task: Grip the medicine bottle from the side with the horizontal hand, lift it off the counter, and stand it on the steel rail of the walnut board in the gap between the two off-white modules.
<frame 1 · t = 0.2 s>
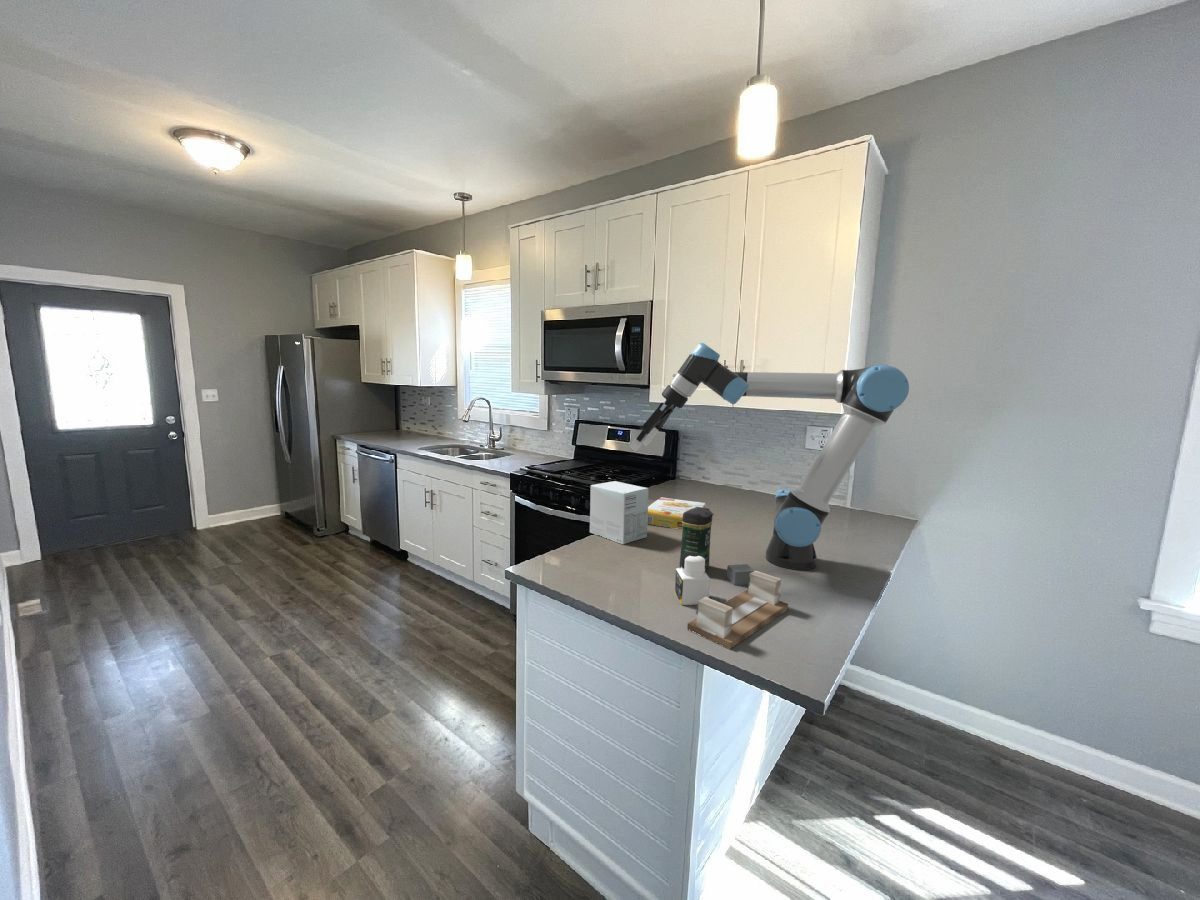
hand: (638, 446, 151), 35 cm above the counter, tool tilted 35°, fingers open, 13 cm apart
supplement box: (618, 535, 175), on the counter
coffee jar: (694, 569, 145), on the counter
rail board: (739, 618, 115), on the counter
medicine bottle: (691, 599, 125), on the counter
cereal box: (674, 519, 198), on the counter
gray cube: (740, 581, 137), on the counter
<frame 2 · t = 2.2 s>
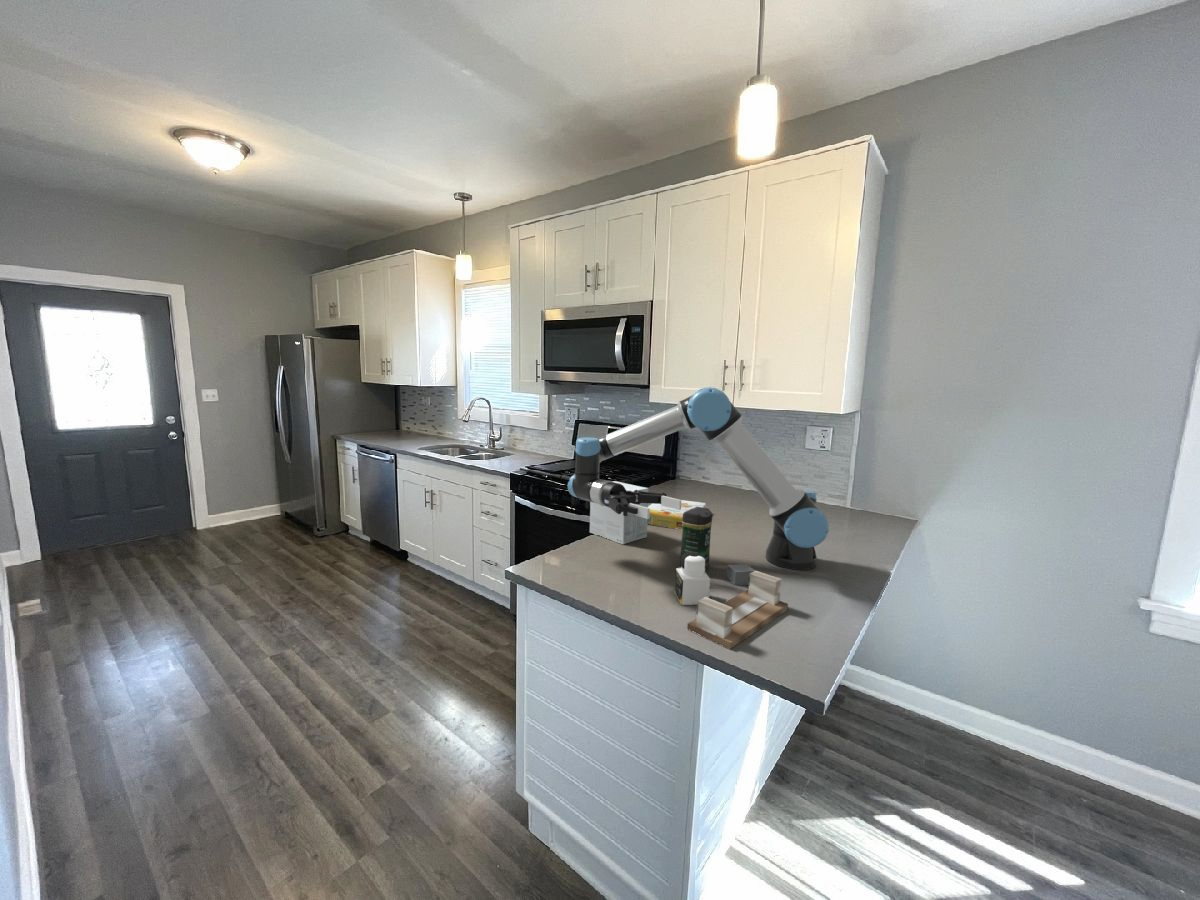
hand: (665, 509, 129), 22 cm above the counter, tool horizontal, fingers open, 13 cm apart
nothing on the counter moved.
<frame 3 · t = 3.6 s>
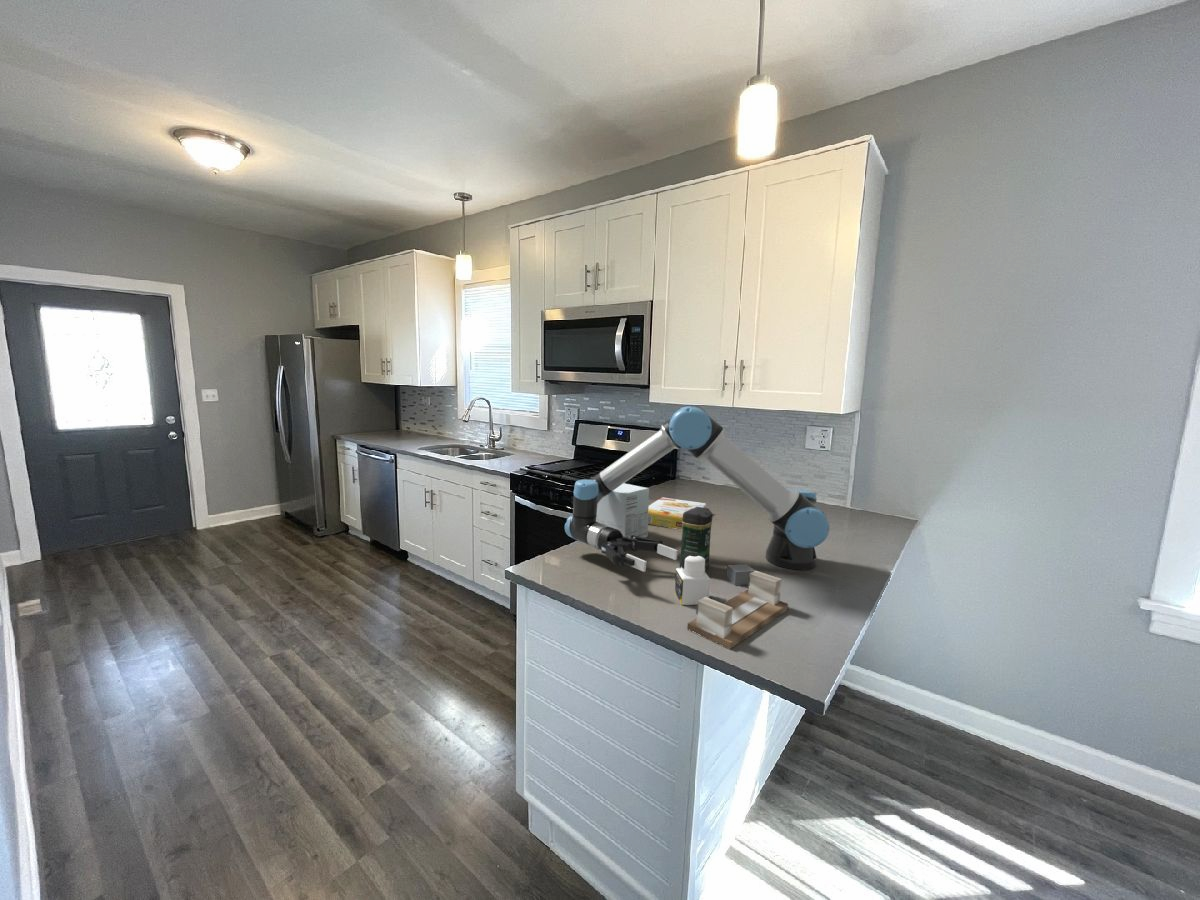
hand: (661, 560, 130), 8 cm above the counter, tool horizontal, fingers open, 13 cm apart
supplement box: (618, 535, 175), on the counter, touching arm
everything else where it was.
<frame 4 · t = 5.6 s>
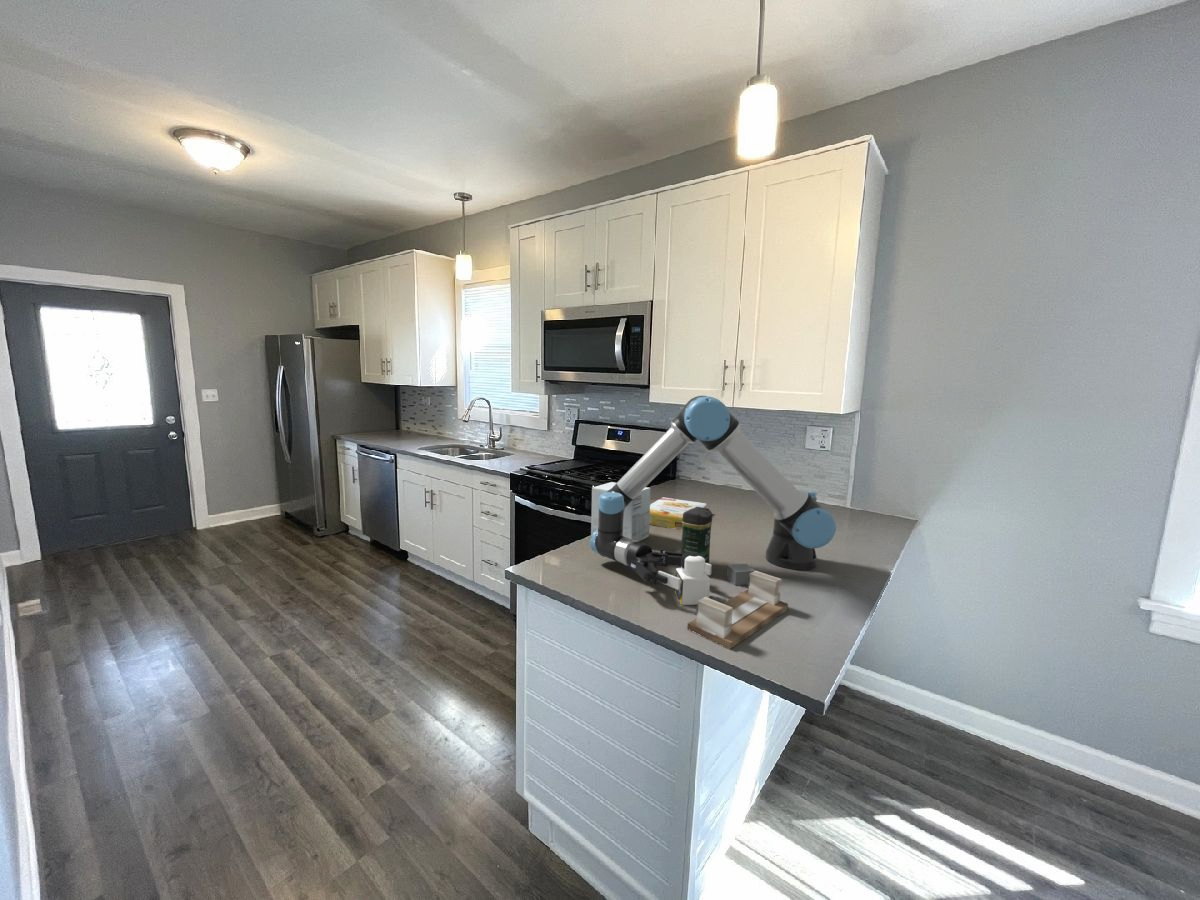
hand: (695, 576, 123), 6 cm above the counter, tool horizontal, fingers open, 13 cm apart
supplement box: (620, 536, 173), on the counter
everything else where it was.
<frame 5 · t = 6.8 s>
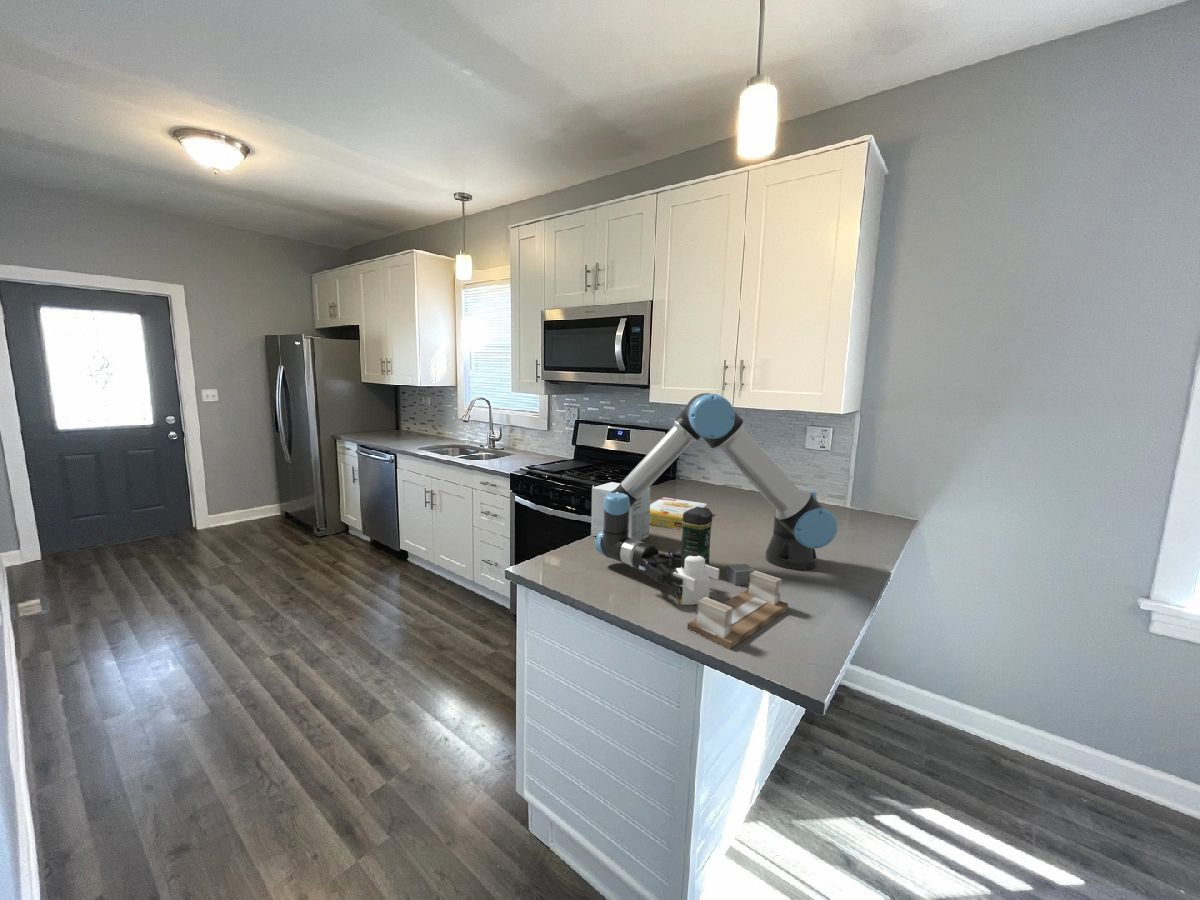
hand: (706, 579, 121), 7 cm above the counter, tool horizontal, fingers closed on medicine bottle, 10 cm apart
medicine bottle: (691, 599, 125), on the counter, touching gripper
everything else where it was.
when the fingers open (10 cm above the counter, at t = 13.0 s): medicine bottle drops 1 cm, resting on rail board.
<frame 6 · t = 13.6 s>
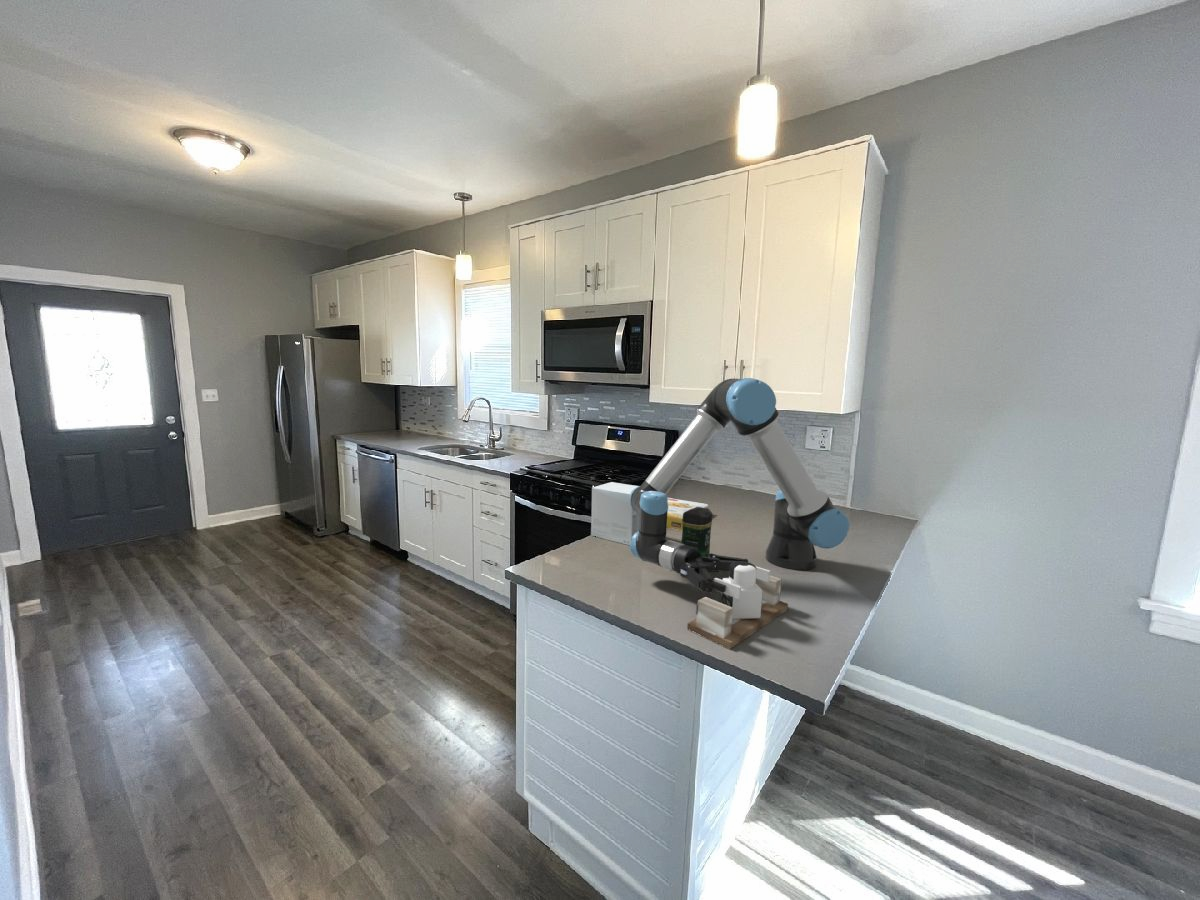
hand: (755, 584, 111), 10 cm above the counter, tool horizontal, fingers open, 13 cm apart
medicine bottle: (740, 612, 115), point 2 cm above the counter, touching rail board
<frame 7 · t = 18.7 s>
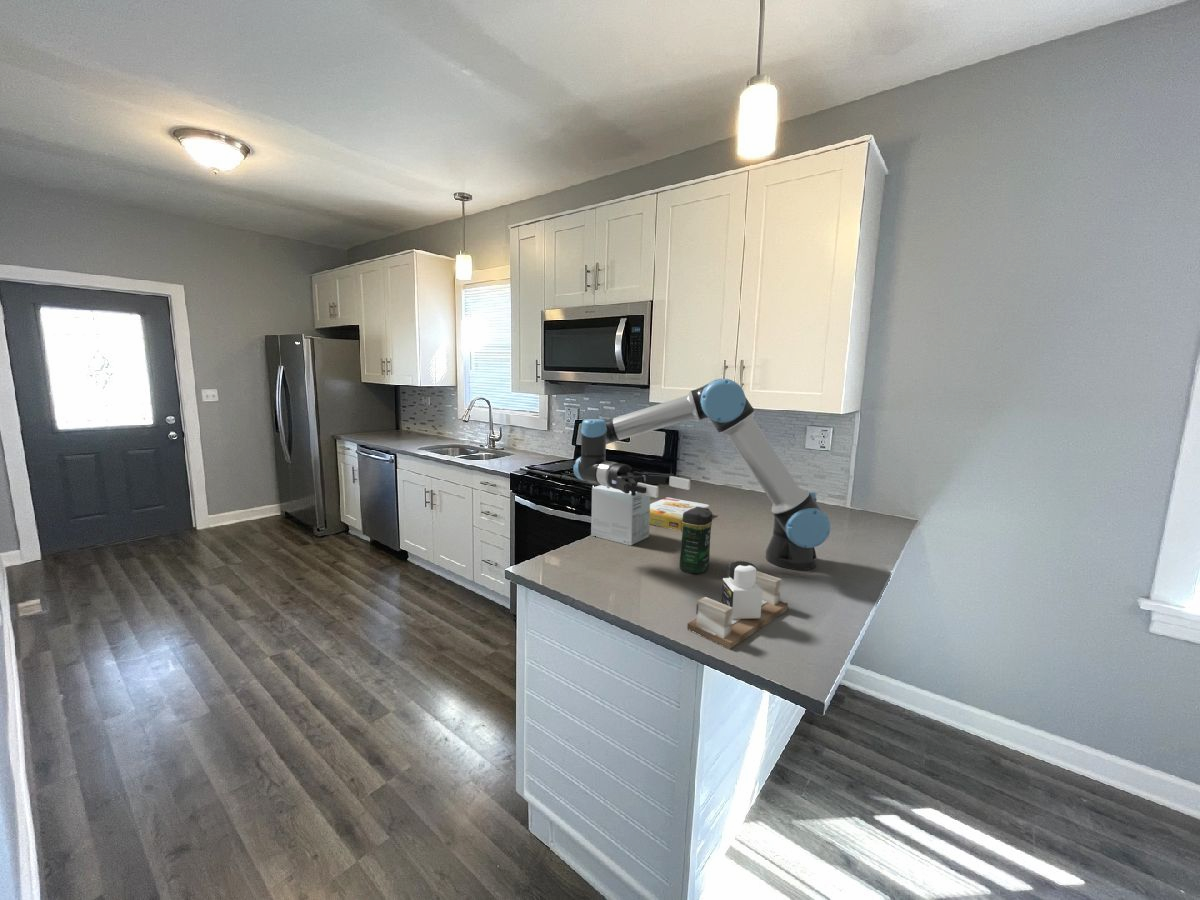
hand: (674, 488, 126), 28 cm above the counter, tool horizontal, fingers open, 13 cm apart
at the end: medicine bottle inside the target area on the rail board (0.1 cm from its centre), point 1.5 cm above the rail board's base; medicine bottle tilted 0°; the gripper is holding nothing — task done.
